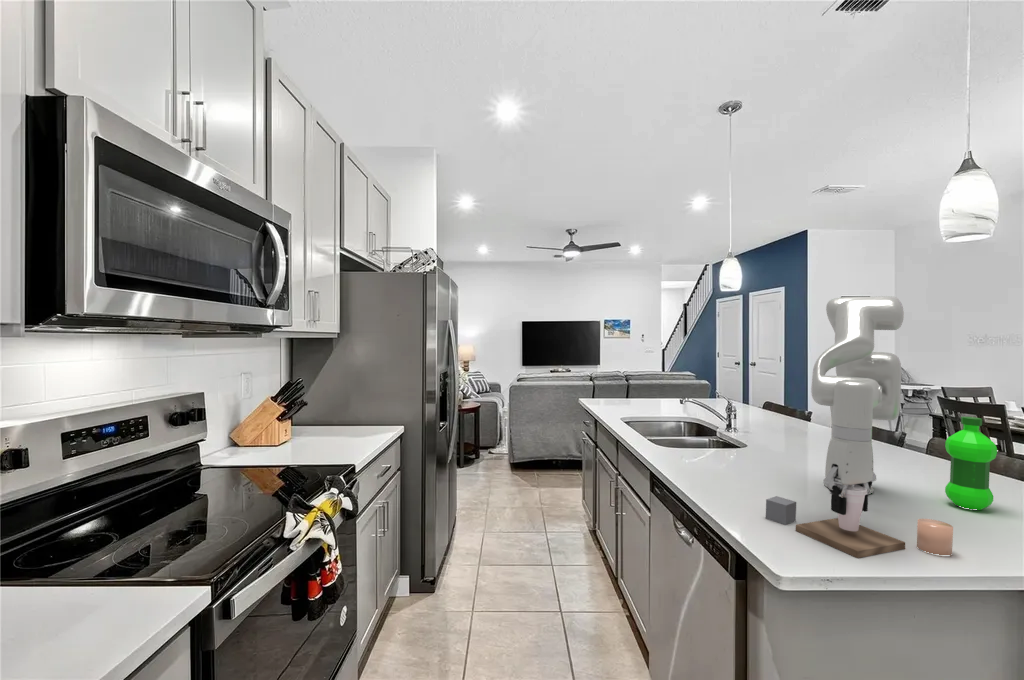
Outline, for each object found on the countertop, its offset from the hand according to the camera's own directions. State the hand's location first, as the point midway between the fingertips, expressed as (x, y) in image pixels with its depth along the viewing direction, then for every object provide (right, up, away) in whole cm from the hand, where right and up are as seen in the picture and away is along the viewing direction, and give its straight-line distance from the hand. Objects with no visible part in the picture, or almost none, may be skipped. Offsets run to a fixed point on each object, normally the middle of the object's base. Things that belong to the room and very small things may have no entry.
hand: (849, 510), depth 115 cm
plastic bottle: (+49, -7, +23) cm, 54 cm away
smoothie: (0, -4, 0) cm, 4 cm away
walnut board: (0, -7, 0) cm, 7 cm away
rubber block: (-10, -6, +11) cm, 16 cm away
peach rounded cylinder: (+15, -7, -5) cm, 18 cm away
